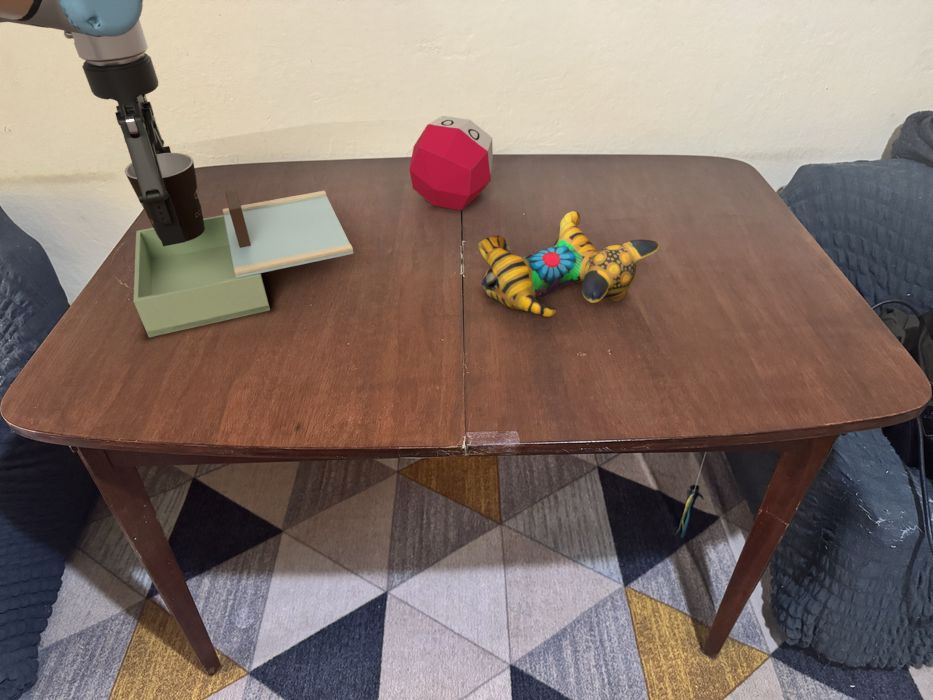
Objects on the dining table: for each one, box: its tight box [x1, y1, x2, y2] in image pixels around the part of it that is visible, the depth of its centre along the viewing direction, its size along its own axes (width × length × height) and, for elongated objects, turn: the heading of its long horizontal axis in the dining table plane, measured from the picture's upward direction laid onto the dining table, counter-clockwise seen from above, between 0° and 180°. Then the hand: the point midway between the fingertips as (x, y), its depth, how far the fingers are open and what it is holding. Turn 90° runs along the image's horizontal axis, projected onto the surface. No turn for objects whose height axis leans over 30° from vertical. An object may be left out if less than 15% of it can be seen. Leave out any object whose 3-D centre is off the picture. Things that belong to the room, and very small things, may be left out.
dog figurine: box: [477, 210, 660, 318], centre depth 89 cm, size 20×12×18 cm
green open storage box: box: [133, 214, 271, 338], centre depth 94 cm, size 16×20×6 cm
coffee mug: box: [124, 152, 205, 242], centre depth 88 cm, size 12×9×10 cm
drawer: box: [222, 190, 354, 278], centre depth 94 cm, size 16×20×7 cm
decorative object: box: [408, 115, 494, 211], centre depth 112 cm, size 15×15×15 cm
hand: (172, 221), depth 89 cm, fingers closed on coffee mug, 12 cm apart
